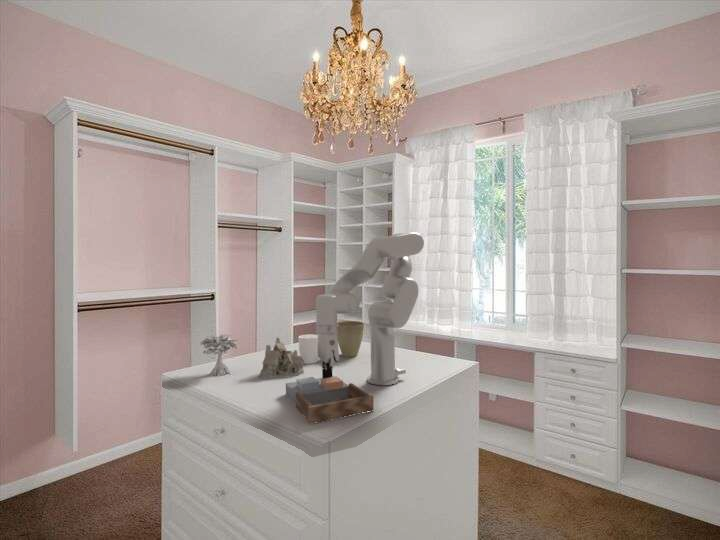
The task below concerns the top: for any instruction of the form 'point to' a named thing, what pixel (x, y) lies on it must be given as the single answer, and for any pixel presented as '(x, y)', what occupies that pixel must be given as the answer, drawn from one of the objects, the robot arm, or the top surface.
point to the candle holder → (308, 348)
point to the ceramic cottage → (281, 362)
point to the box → (335, 406)
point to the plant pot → (349, 337)
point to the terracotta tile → (331, 383)
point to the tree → (219, 351)
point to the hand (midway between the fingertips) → (327, 379)
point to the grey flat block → (317, 393)
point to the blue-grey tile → (307, 383)
